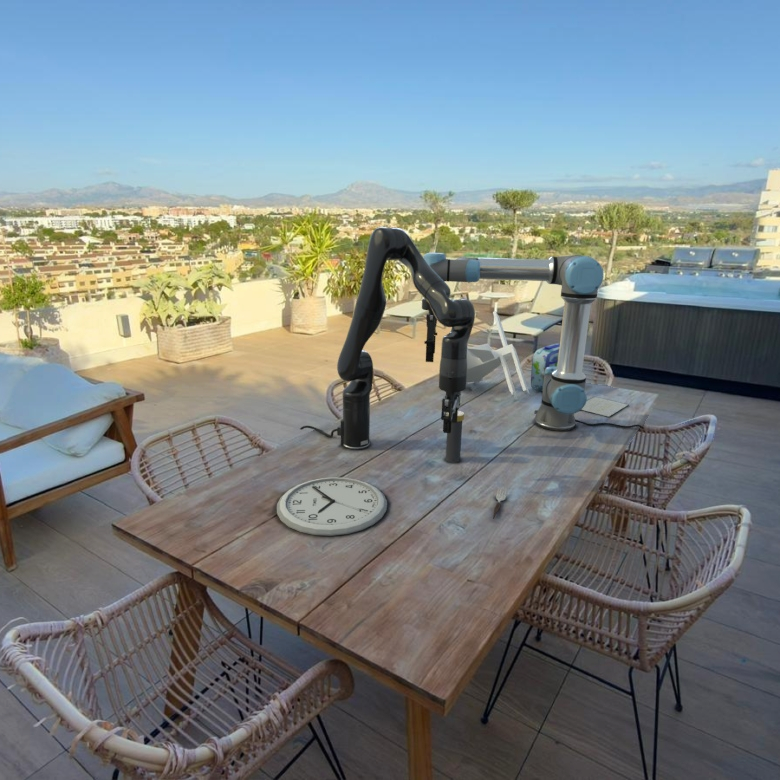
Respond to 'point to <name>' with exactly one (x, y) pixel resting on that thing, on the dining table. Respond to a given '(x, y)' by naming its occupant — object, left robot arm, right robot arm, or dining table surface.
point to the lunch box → (543, 364)
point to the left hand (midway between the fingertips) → (450, 427)
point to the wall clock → (331, 506)
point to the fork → (499, 498)
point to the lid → (459, 416)
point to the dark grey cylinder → (454, 443)
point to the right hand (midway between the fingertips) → (430, 357)
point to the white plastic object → (494, 361)
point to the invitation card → (603, 406)
